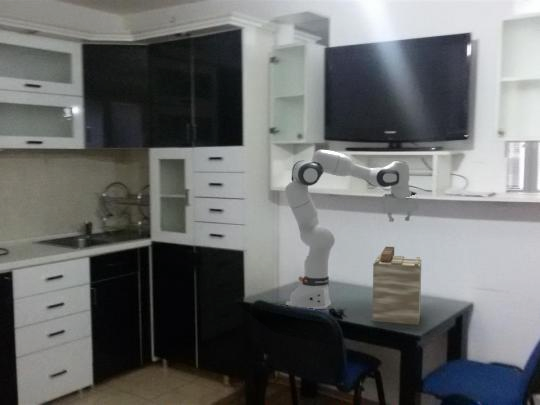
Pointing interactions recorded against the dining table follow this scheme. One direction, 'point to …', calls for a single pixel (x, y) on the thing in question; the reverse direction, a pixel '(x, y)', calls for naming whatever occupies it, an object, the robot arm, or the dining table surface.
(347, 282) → the dining table surface
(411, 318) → the slotted stand
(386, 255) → the rail bar
